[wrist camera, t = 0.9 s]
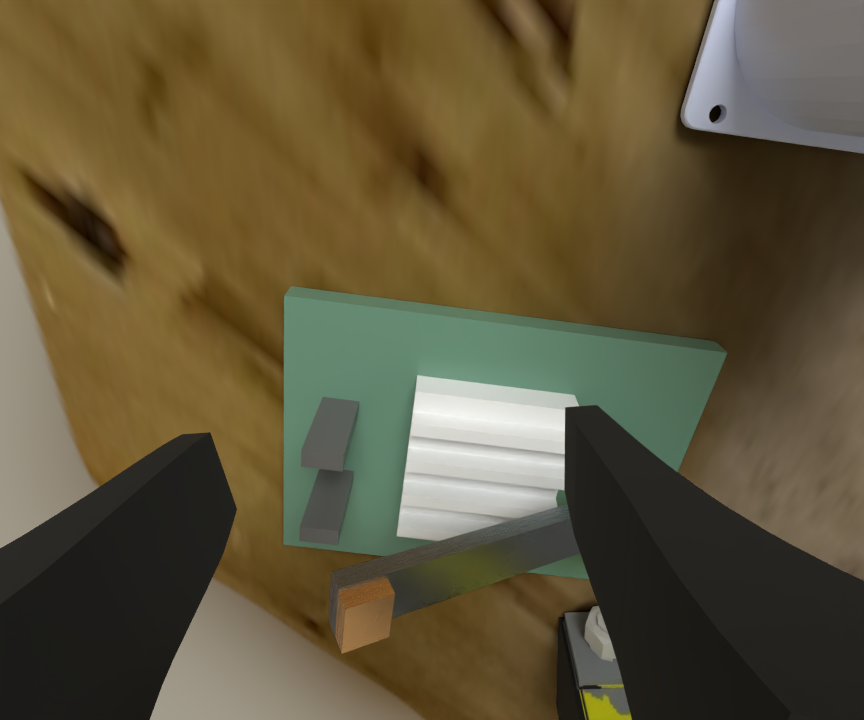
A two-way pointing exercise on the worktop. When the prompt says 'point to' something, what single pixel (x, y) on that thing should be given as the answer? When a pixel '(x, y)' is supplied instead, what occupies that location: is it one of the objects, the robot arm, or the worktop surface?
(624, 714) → the electrical component
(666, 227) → the worktop surface
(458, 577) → the bar
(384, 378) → the heatsink base
